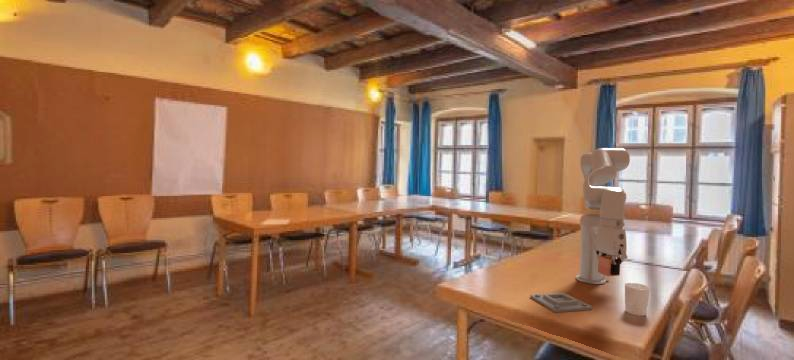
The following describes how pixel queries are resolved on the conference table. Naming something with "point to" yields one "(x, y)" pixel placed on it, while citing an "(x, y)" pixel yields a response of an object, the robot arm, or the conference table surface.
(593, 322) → the conference table surface
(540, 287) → the conference table surface
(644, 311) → the white cup
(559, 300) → the baseplate
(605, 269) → the pink knobbed block
